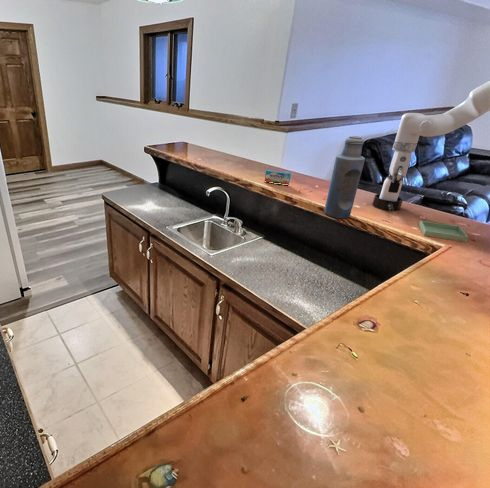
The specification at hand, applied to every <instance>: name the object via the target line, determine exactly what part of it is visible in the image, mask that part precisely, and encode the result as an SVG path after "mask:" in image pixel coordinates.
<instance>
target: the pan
mask: <svg viewBox="0 0 490 488" xmlns="http://www.w3.org/2000/svg"><path fill="white" fill-rule="evenodd" d="M380 194H381V193H376V194H375V195H374V196H373V200H372V203H371V204H372V207H374V208H376V209H378V210H383V211H389V212H397V211H400V210H401V207H402V205H403V201H404V200H403V199H404V198H403V197H401V196H398V199H397V201H388V200H383V199H380V198H379V197H380Z"/></svg>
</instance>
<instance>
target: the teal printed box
mask: <svg viewBox="0 0 490 488" xmlns="http://www.w3.org/2000/svg"><path fill="white" fill-rule="evenodd" d="M291 176H292V173H290V172H283V171H276V170H270V169H269V170H266V171H265V175H264V181H266V182H273V183H281V184H288V185H289V186H290V183H291ZM268 184H270V183H268ZM275 185H276V186H278V185H277V184H275Z"/></svg>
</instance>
